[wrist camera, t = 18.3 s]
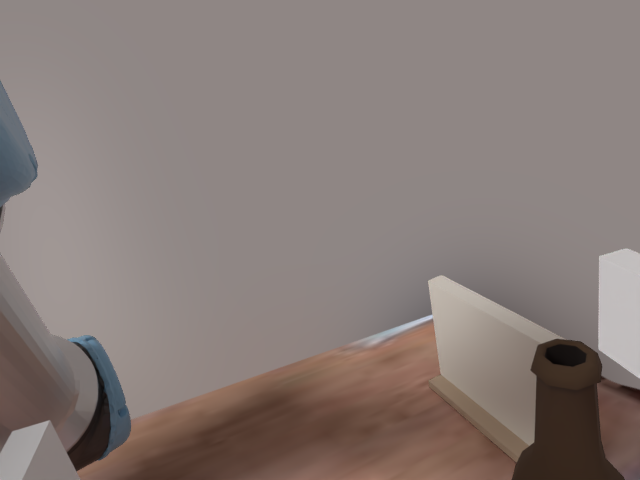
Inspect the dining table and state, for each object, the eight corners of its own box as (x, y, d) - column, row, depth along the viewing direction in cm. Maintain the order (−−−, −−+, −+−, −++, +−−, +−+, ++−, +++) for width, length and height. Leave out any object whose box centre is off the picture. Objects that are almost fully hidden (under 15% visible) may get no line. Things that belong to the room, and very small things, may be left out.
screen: (429, 386, 63) (414, 286, 58) (465, 368, 65) (454, 269, 60) (555, 497, 46) (551, 368, 40) (600, 467, 48) (602, 340, 42)
